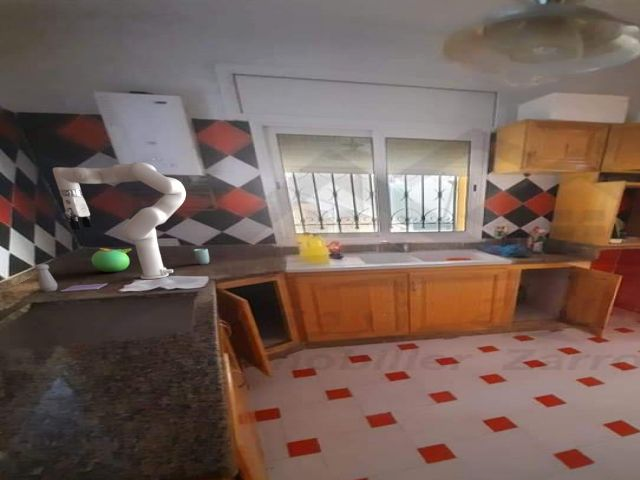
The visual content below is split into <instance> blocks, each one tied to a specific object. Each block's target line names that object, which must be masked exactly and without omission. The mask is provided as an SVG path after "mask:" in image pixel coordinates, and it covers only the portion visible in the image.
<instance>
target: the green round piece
mask: <svg viewBox="0 0 640 480" xmlns="http://www.w3.org/2000/svg"><path fill="white" fill-rule="evenodd" d="M130 251H132V248H124V249H123V248H122V249H121V248H118V249H116V248H104V247H103V248H102V247H99V250H97V251H96V252H94V253H93V255H92V256H91V264H92V265H93V267H94V268H95V269H97V270H98V271H100V272H105V273H118V272H122V271H124V270H126V269H127V268H128V267H129V265H130V258H129V256H128V255H127V253H128V252H130Z"/></svg>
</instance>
